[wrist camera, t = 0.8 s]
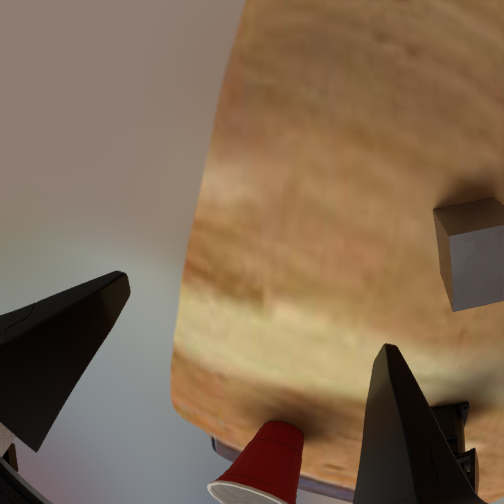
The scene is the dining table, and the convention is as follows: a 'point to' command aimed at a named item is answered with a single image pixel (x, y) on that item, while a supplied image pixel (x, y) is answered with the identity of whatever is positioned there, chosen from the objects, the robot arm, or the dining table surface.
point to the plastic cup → (264, 468)
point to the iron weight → (471, 252)
